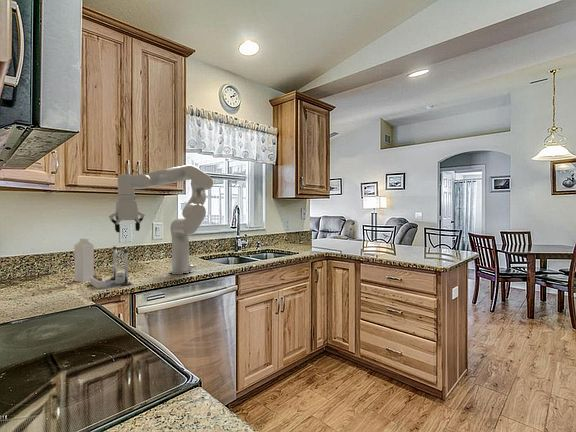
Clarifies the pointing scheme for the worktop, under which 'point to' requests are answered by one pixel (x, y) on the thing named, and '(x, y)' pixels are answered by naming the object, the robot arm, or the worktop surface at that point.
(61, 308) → the worktop surface
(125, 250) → the cord post
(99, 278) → the mat
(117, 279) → the power adapter
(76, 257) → the milk
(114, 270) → the cord post
